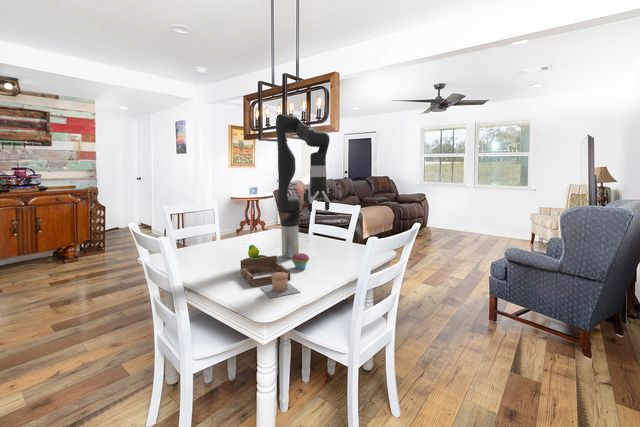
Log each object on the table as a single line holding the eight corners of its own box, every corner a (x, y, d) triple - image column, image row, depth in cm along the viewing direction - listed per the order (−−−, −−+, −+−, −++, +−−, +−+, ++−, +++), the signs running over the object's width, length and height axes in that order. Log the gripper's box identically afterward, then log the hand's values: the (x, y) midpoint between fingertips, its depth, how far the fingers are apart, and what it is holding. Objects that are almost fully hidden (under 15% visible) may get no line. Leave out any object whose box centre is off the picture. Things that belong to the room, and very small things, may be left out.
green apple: (252, 272, 155) (251, 249, 154) (241, 269, 161) (240, 246, 160) (271, 267, 164) (270, 244, 162) (260, 264, 170) (259, 242, 168)
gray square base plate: (260, 288, 135) (260, 287, 135) (288, 283, 140) (288, 282, 140) (270, 298, 124) (270, 297, 124) (300, 292, 130) (300, 291, 130)
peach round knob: (269, 288, 134) (268, 273, 133) (284, 285, 137) (284, 271, 136) (275, 293, 128) (274, 278, 127) (291, 290, 131) (290, 275, 130)
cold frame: (241, 275, 152) (240, 260, 151) (276, 269, 159) (276, 255, 158) (251, 286, 137) (251, 270, 136) (290, 280, 145) (290, 264, 144)
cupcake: (288, 269, 160) (288, 244, 159) (296, 264, 168) (295, 241, 166) (305, 271, 157) (304, 246, 155) (312, 266, 165) (311, 242, 163)
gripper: (327, 175, 159) (328, 209, 161) (300, 176, 152) (301, 211, 155) (335, 175, 152) (336, 211, 155) (307, 176, 146) (308, 213, 148)
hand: (318, 211), depth 155 cm, fingers open, 8 cm apart
